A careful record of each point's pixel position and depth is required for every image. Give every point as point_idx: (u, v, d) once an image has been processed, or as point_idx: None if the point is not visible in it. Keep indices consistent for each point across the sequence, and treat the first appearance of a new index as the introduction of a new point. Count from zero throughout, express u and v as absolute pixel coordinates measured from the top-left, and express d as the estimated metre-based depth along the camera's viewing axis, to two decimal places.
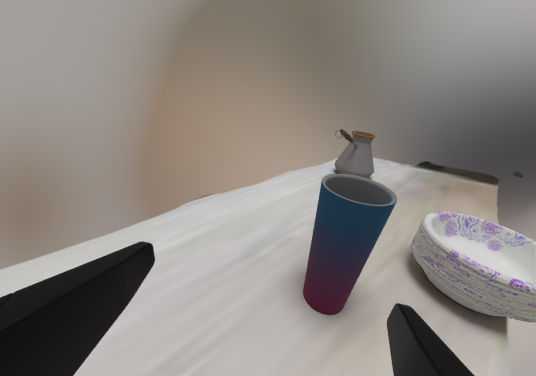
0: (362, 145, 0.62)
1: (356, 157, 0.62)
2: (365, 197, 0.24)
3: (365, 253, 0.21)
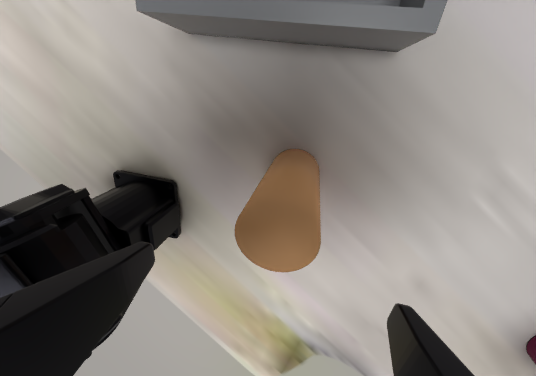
0: None
1: None
2: None
3: None
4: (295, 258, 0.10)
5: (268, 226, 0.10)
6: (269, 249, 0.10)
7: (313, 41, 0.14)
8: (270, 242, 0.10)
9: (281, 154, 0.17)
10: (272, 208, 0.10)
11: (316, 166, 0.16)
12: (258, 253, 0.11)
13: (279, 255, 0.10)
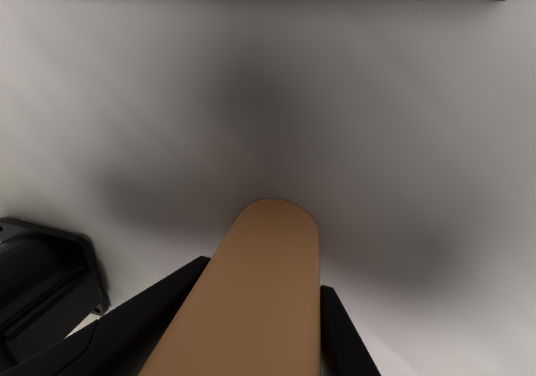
0: None
1: None
2: None
3: None
4: None
5: None
6: None
7: None
8: None
9: (248, 211, 0.09)
10: None
11: (314, 239, 0.08)
12: None
13: None
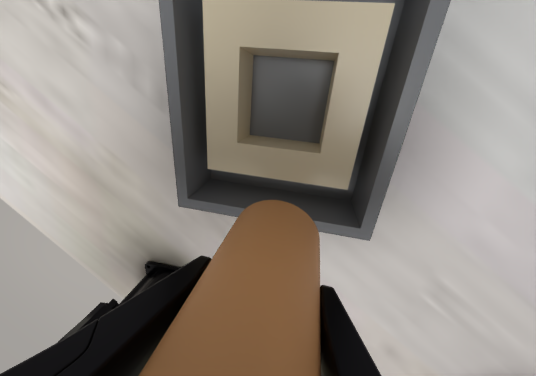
0: None
1: None
2: None
3: None
4: None
5: None
6: None
7: None
8: None
9: (248, 213, 0.09)
10: None
11: (313, 240, 0.08)
12: None
13: None
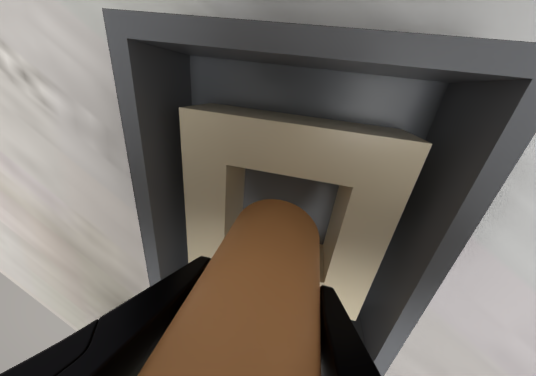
0: None
1: None
2: None
3: None
4: None
5: None
6: None
7: None
8: None
9: (248, 212, 0.09)
10: None
11: (314, 240, 0.08)
12: None
13: None
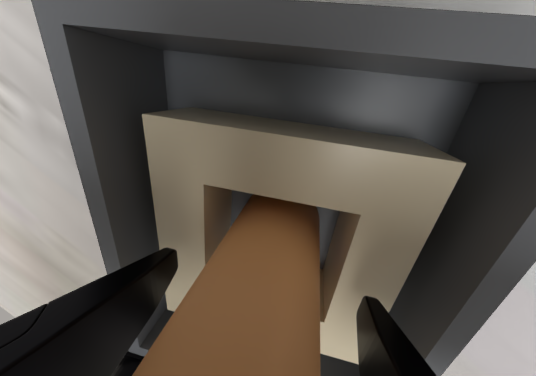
0: None
1: None
2: None
3: None
4: None
5: None
6: None
7: None
8: None
9: None
10: None
11: (314, 217, 0.10)
12: None
13: None
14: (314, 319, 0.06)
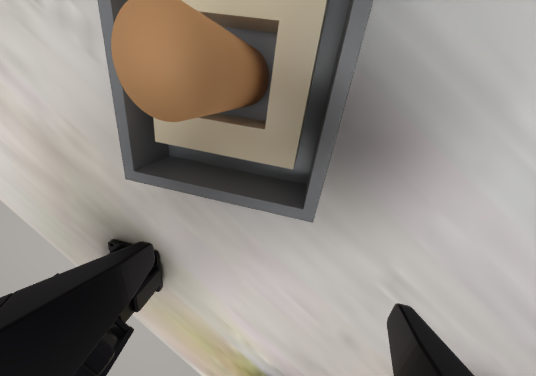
0: None
1: None
2: None
3: None
4: (189, 95, 0.08)
5: (149, 42, 0.08)
6: (157, 84, 0.08)
7: None
8: (156, 71, 0.08)
9: None
10: (148, 8, 0.07)
11: (260, 57, 0.14)
12: (146, 94, 0.08)
13: (170, 92, 0.08)
14: (236, 47, 0.10)
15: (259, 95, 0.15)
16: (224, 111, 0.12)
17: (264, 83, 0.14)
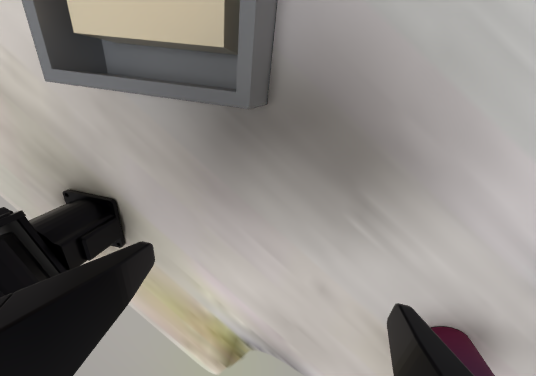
0: None
1: None
2: None
3: None
4: None
5: None
6: None
7: None
8: None
9: None
10: None
11: None
12: None
13: None
14: None
15: None
16: None
17: None
